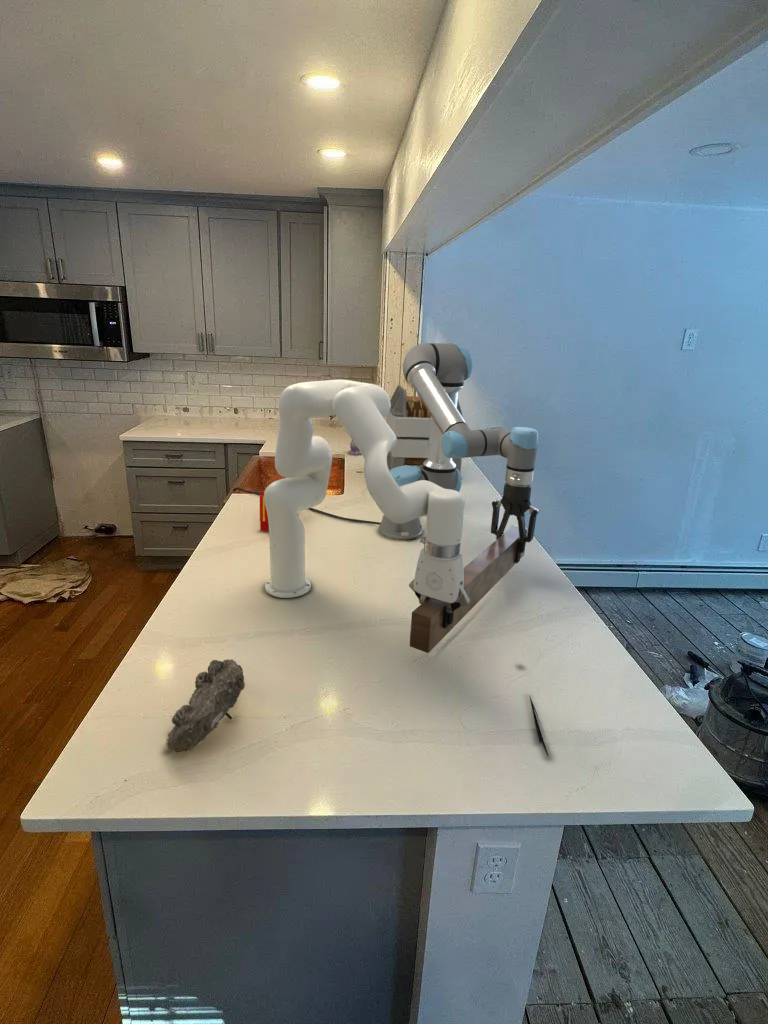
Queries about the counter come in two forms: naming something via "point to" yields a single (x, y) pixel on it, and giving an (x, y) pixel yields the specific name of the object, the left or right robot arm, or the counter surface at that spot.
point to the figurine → (354, 448)
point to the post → (476, 585)
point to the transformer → (410, 430)
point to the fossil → (206, 705)
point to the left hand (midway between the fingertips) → (436, 621)
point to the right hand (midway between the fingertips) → (508, 559)
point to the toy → (263, 514)
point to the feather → (538, 726)
